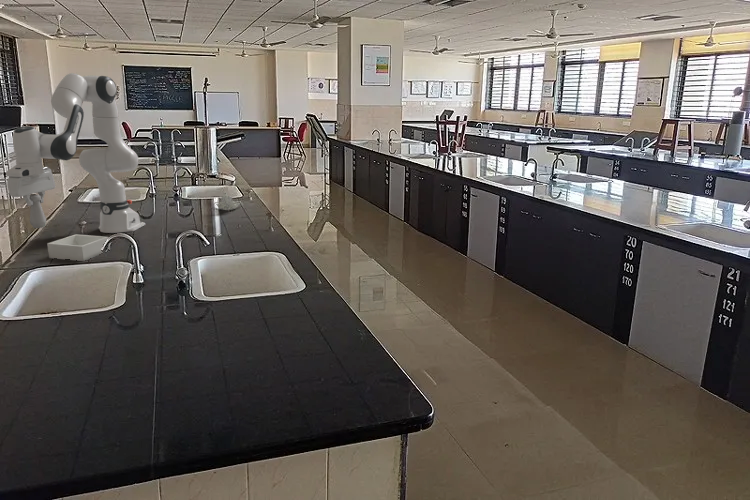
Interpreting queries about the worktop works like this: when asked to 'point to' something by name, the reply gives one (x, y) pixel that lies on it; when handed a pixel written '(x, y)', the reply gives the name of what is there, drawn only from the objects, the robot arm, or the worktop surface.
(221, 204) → the skeletal model
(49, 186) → the robot arm
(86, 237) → the box
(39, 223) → the salt shaker
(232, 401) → the worktop surface
